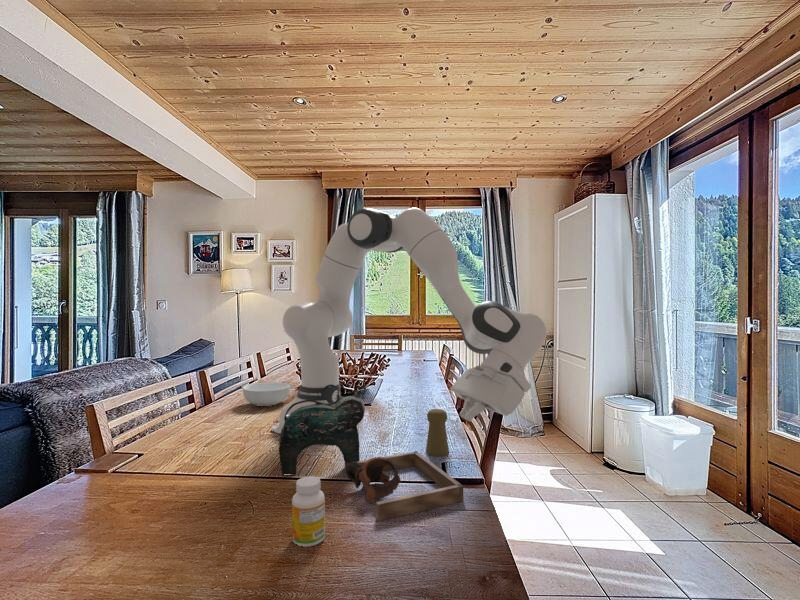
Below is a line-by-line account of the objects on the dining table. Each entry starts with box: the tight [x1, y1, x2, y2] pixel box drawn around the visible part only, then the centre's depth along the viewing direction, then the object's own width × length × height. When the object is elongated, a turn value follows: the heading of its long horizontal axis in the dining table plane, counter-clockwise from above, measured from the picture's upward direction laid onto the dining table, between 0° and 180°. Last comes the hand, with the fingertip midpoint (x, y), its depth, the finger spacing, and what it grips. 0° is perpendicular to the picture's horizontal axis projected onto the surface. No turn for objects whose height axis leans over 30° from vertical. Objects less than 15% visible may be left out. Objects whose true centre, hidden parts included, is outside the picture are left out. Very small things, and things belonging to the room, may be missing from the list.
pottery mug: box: [344, 456, 402, 504], centre depth 89 cm, size 12×10×8 cm
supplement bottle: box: [291, 476, 326, 548], centre depth 73 cm, size 5×5×10 cm
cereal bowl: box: [242, 381, 291, 407], centre depth 163 cm, size 17×17×7 cm
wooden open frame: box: [344, 450, 464, 522], centre depth 91 cm, size 18×21×3 cm
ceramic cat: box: [278, 384, 366, 476], centre depth 101 cm, size 20×6×20 cm, turn 100°
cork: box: [425, 408, 450, 457], centre depth 112 cm, size 6×6×11 cm
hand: (464, 418), depth 98 cm, fingers closed
